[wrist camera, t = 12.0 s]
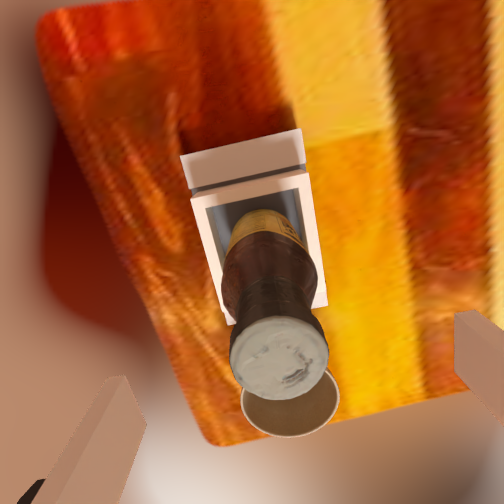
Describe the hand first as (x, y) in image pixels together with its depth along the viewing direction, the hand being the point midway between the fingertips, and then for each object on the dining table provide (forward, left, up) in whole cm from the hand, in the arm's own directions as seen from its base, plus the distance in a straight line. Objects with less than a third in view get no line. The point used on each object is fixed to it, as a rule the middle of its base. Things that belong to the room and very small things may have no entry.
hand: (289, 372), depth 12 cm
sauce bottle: (0, 0, -20) cm, 20 cm away
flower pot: (+1, +16, -22) cm, 27 cm away
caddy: (0, 0, -21) cm, 21 cm away
